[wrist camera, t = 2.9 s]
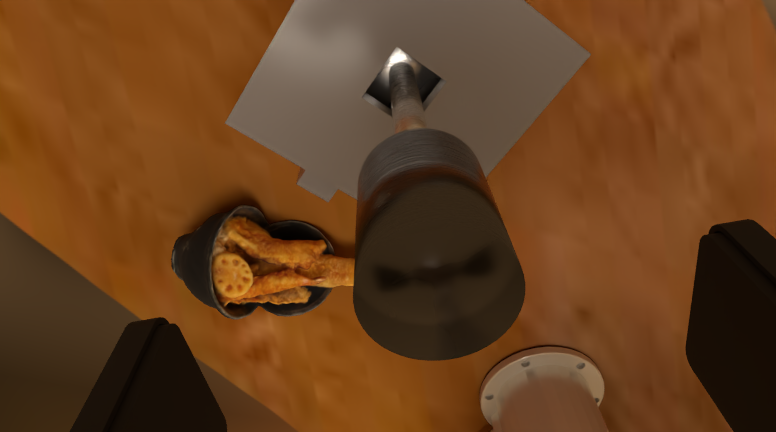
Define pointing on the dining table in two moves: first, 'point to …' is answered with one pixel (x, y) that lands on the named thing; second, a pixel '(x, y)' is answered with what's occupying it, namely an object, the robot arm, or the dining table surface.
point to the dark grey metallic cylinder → (429, 234)
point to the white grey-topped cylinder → (369, 54)
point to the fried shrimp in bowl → (259, 264)
